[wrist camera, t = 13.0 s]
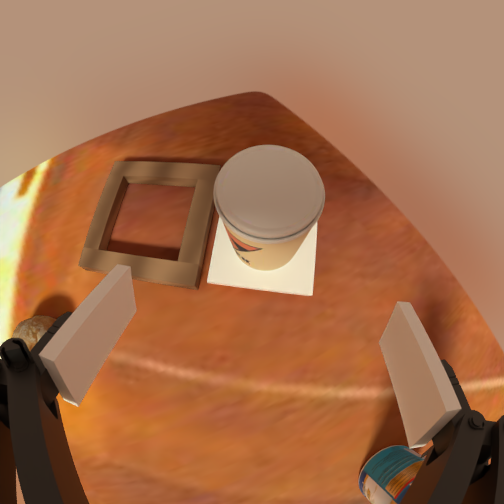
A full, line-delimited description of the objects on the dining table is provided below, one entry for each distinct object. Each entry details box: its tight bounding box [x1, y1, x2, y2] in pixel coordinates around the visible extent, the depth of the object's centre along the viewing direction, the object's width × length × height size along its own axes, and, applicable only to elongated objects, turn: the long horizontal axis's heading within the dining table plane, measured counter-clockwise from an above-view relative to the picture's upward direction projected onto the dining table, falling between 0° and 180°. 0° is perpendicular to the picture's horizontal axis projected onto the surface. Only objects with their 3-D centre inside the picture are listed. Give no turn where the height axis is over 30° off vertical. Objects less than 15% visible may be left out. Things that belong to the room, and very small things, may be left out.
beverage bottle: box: [358, 445, 425, 504], centre depth 15 cm, size 8×8×20 cm
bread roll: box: [13, 315, 57, 351], centre depth 28 cm, size 10×10×8 cm
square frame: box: [78, 161, 221, 290], centre depth 35 cm, size 16×16×2 cm
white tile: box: [207, 217, 317, 296], centre depth 35 cm, size 12×12×1 cm
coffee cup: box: [213, 145, 325, 271], centre depth 29 cm, size 9×9×12 cm
